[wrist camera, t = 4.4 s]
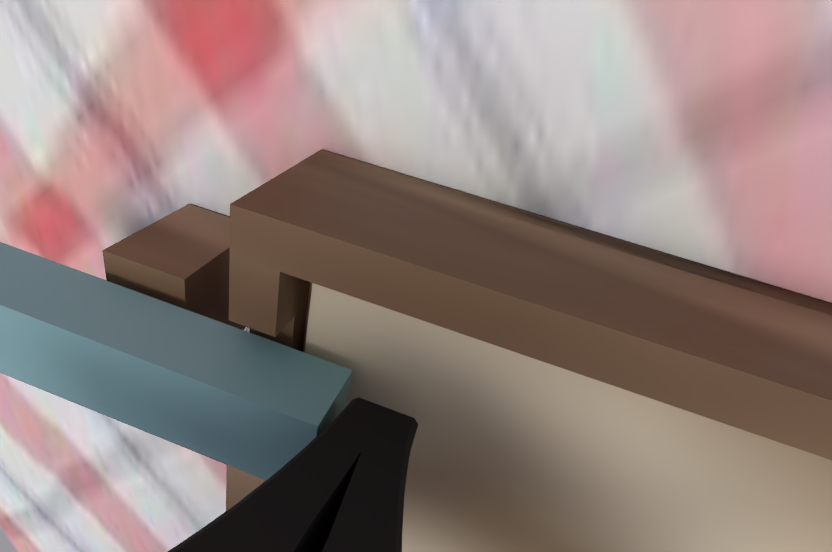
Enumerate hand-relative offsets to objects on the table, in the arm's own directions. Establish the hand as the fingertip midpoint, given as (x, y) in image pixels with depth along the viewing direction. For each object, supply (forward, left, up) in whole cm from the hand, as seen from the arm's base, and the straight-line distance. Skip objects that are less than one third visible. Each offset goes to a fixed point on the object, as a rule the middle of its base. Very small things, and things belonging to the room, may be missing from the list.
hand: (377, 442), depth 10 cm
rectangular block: (0, +5, -1) cm, 5 cm away
